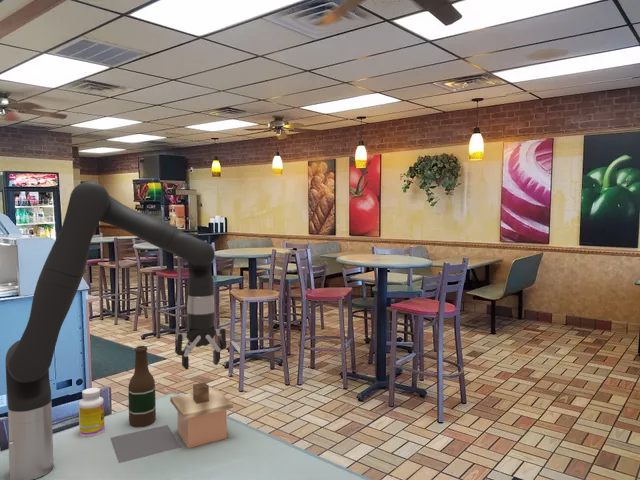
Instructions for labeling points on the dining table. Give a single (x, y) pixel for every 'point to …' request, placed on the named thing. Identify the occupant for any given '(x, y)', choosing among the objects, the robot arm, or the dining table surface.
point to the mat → (144, 443)
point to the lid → (200, 401)
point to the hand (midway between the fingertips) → (201, 366)
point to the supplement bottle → (91, 413)
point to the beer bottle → (141, 392)
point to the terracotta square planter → (203, 428)
